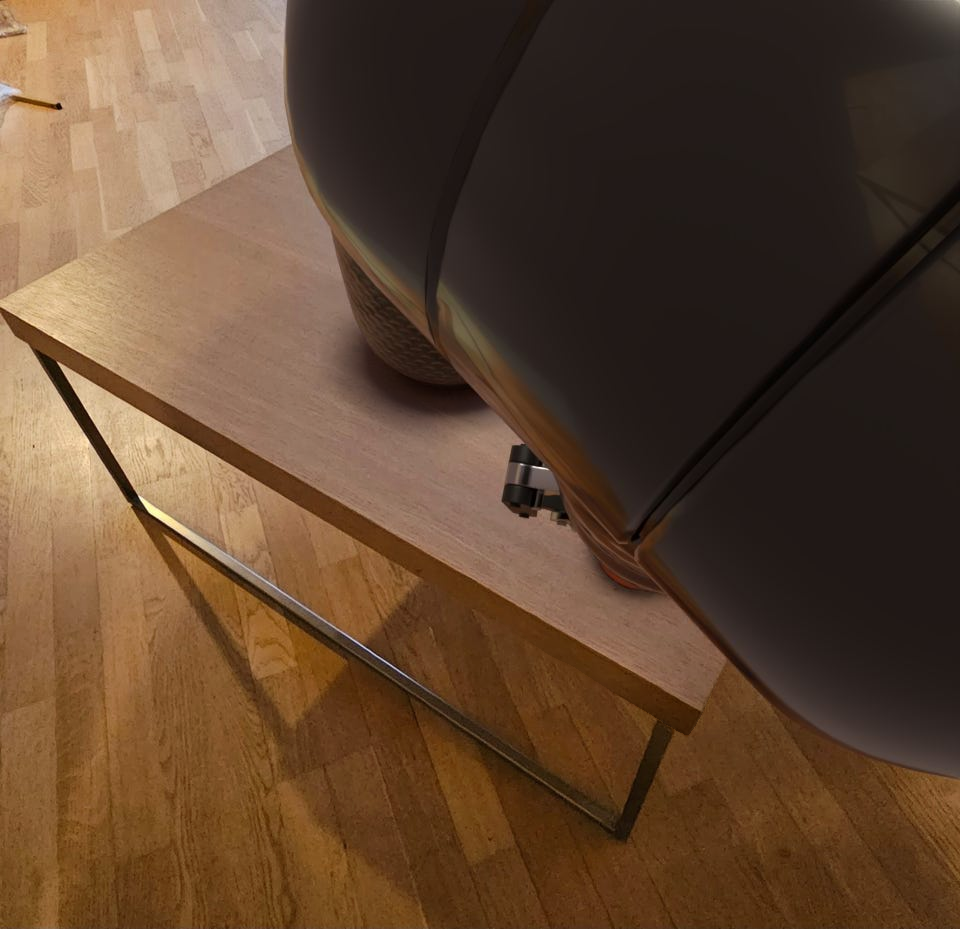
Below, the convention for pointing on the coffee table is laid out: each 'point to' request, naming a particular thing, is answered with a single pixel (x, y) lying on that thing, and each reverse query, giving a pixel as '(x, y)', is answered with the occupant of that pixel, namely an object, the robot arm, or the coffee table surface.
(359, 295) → the planter
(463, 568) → the coffee table surface
